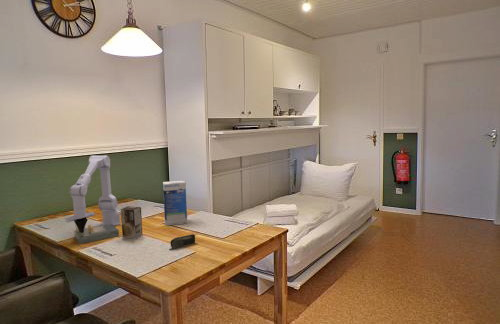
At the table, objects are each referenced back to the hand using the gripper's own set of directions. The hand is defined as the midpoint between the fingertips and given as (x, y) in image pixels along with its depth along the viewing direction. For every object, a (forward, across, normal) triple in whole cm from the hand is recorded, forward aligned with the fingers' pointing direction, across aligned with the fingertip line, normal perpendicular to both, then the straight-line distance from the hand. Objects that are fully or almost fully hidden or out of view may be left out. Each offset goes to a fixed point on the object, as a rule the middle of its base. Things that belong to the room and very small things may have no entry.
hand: (81, 232), depth 183 cm
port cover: (+1, -8, +1) cm, 8 cm away
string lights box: (+5, -50, +17) cm, 53 cm away
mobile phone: (+5, -26, +50) cm, 56 cm away
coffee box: (+5, -20, +16) cm, 26 cm away
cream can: (+1, -2, -7) cm, 8 cm away
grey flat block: (+5, -8, 0) cm, 9 cm away
